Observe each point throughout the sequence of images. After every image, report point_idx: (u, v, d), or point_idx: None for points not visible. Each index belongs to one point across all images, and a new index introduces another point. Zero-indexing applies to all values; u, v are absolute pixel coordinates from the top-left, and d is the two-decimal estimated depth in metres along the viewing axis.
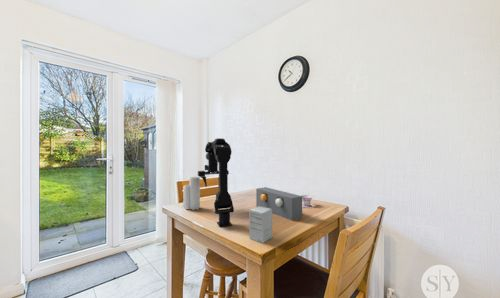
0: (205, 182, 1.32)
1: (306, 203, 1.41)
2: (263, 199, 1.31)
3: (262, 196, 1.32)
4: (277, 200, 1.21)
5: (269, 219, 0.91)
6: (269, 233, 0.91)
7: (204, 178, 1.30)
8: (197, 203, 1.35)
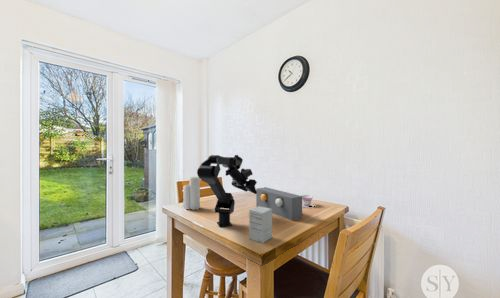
0: (241, 189, 1.30)
1: (307, 203, 1.41)
2: (263, 199, 1.31)
3: (262, 196, 1.32)
4: (277, 200, 1.21)
5: (269, 219, 0.91)
6: (269, 233, 0.91)
7: None
8: (197, 203, 1.35)
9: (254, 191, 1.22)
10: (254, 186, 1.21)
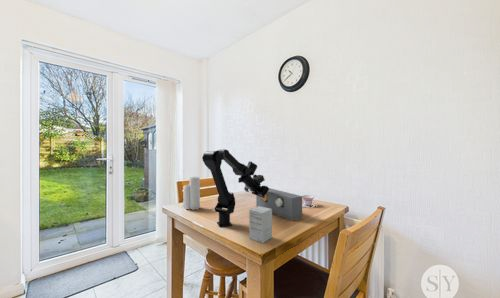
0: None
1: (308, 203, 1.41)
2: (265, 199, 1.32)
3: None
4: (277, 200, 1.21)
5: (269, 219, 0.91)
6: (269, 233, 0.91)
7: (254, 194, 1.30)
8: (197, 203, 1.35)
9: (262, 195, 1.30)
10: None
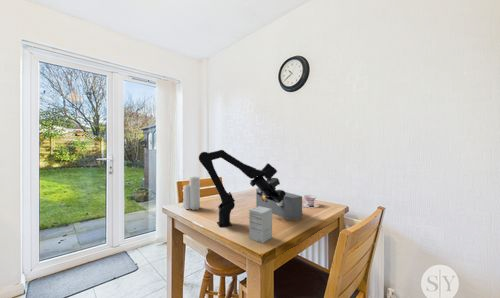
0: None
1: (310, 203, 1.41)
2: (265, 199, 1.32)
3: (264, 196, 1.33)
4: None
5: (269, 219, 0.91)
6: (269, 233, 0.91)
7: None
8: (197, 203, 1.35)
9: (277, 200, 1.18)
10: None
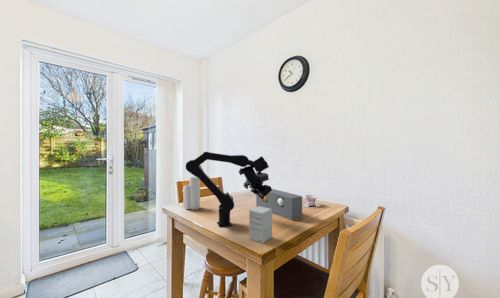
0: (257, 195, 1.16)
1: (311, 203, 1.41)
2: (265, 199, 1.32)
3: None
4: (279, 200, 1.22)
5: (269, 219, 0.91)
6: (269, 233, 0.91)
7: None
8: (197, 203, 1.35)
9: (262, 196, 1.15)
10: None
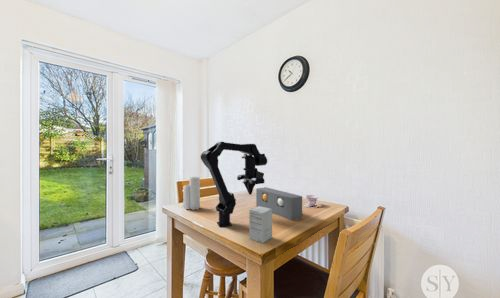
0: (246, 188, 1.18)
1: (312, 203, 1.41)
2: (265, 199, 1.32)
3: (264, 196, 1.33)
4: (279, 200, 1.22)
5: (269, 219, 0.91)
6: (269, 233, 0.91)
7: (244, 184, 1.18)
8: (197, 203, 1.35)
9: (250, 190, 1.18)
10: (254, 185, 1.18)
